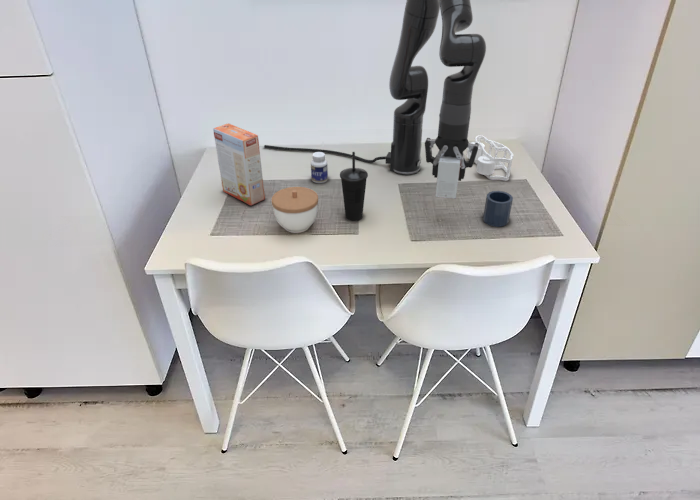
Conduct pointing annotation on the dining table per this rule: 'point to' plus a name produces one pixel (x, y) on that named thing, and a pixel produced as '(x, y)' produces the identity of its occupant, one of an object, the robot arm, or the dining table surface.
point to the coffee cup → (497, 208)
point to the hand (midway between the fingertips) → (447, 177)
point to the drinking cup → (353, 191)
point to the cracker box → (239, 163)
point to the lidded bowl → (295, 208)
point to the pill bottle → (319, 168)
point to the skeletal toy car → (491, 159)
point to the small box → (447, 177)
